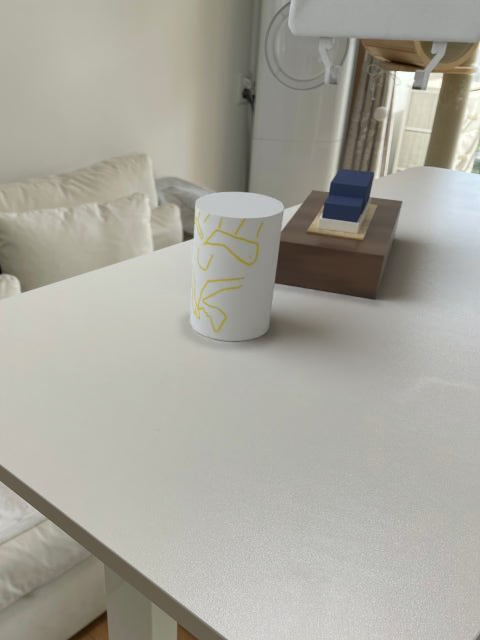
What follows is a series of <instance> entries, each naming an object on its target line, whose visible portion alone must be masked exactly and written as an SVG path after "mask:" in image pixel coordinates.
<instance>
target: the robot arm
mask: <svg viewBox="0 0 480 640" xmlns="http://www.w3.org/2000/svg"><path fill="white" fill-rule="evenodd" d="M287 21H288V22H287V24H288V25H287V26H288V28H289V30H290V32H291V34H292V35H293V36H294V37H310V38H318V39H319V40H318V47H317V49H318V52H319V56H320V58H321V60H322V63H323V66H324V68H325V72H324V80H323V83H324V85H325V86H326V85H327V86H338V85H339V84H340V81H341V75H340V74H341V73H342V67H343V66H342V65H336V64H335V61H334V59H333V56H332V53H331V49H333V48H334V47H335V45H336V38H337V39H363V40H365V39H366V40H387V41H389V40H392V41H414V42H415V41H416V42H417V41H418V42H432V46H431V49H430V50H431V51H430V53H431V54H433V55H434V56H433V57H432V58H431V60H430V61H429V62H428V64H427V65H426V66H425V68H424V69H415V72H414V77H413V82H412V86H411V90H413V91H427V88H428V83H429V79H430V74H431V73H432V72H433V70H435V68H436V67H437V65H438V64H439V62H440V61H441V60H442V59H443V57H445V55H446V52H447V48H448V43H469V44H475V43H476V44H477V43H478V42H479V41H480V0H290V4H289V13H288V20H287Z"/></svg>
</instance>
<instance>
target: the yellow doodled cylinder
mask: <svg viewBox="0 0 480 640" xmlns="http://www.w3.org/2000/svg"><path fill="white" fill-rule="evenodd" d="M284 211H285V205H284V204H283V202H281V201H280V200H279V199H277V198H274V197H273V196H272V197H271V196H268V195H265V194H260V193H256V192H255V193H254V192H247V191H246V192H245V191H222V192H221V191H220V192H212V193H208V194H205V195H202V196H200V197H198V198H197V199H196V200H195V204H194V222H193V223H194V224H193V225H194V226H193V243H192V245H193V246H192V247H193V248H192V265H191V270H192V271H191V285H190V287H191V288H190V293H191V294H190V307H189V308H190V309H189V325H190V326H191V328H192V329H193V330H194V331H195V332H196V333H198V334H200V335H202V336H204V337H206V338H210V339H212V340H218V341H222V342H245V341H251V340H254V339H257V338H259V337H262V336H263V335H265V334H266V333H267V332H268V331H269V329H270V321H271V314H272V307H273V299H274V290H275V284H276V283H275V276H276V268H277V260H278V252H279V244H280V236H281V231H282V228H283V220H284Z"/></svg>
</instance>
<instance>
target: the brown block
mask: <svg viewBox="0 0 480 640" xmlns="http://www.w3.org/2000/svg"><path fill="white" fill-rule="evenodd" d="M328 195H329V191H324V190H323V191H322V190H315V189H312V190H311V192H310V193H309V194H308V195H307V197H306V198H305V199H304V201H303V202H302V203H301V205H300V206H299V207H298V209H297V210H296V211H295V213H294V214H293V215H292V217H291V218H290V219H289V221H288V222H287V223H286V224H285V226H284V227H282V228H283V229H281V236H280V244H279V252H278V260H277V268H276V276H275V283H274V284H280V285H281V284H282V285H287V286H293V287H299V288H306V289H312V290H317V291H323V292H330V293H335V294H342V295H347V296H354V297H359V298H365V299H366V298H367V299H370V300H371V299H372V300H376V297H377V294H378V291H379V287H380V285H381V281H382V278H383V276H384V272H385V269H386V265H387V263H388V260H389V259H388V258H389V256H390V253H391V250H392V246H393V243H394V240H395V237H396V232H397V228H398V224H399V219H400V214H401V210H402V205H403V200H398V199H397V200H396V199H390V198H389V199H388V198H380V197H371V196H370V198H371V202H370V207H369V209H368V212H367V214H366V216H365V218H364V220H363V223H362V225H361V227H360V229H359V231H358V234H356V233H349V232H341V231H334V230H327V229H320V228H318V222H319V218H320V216H321V215H322V213H323V208H324V203H325V201H326V200H327V198H328Z"/></svg>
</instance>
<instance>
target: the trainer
mask: <svg viewBox="0 0 480 640" xmlns="http://www.w3.org/2000/svg"><path fill="white" fill-rule="evenodd" d="M374 178H375V171H366V170H357V169H348V168H347V169H346V168H339V170H338V171H337V173H336V174H335V176H334V177H333V178H332V179H331V181H330V184H329V189H328V190H329V191H328V192H329V195H328V198H327V200H326V201H325V203H324V208H323V213H322V215H321V216H320V218H319V222H318V228H320V229H327V230H334V231H341V232H349V233H356V234H358V231H359V229H360V227H361V225H362V223H363V220H364V218H365V216H366V214H367V212H368V209H369V207H370V202H371V198H370V197H371V193H372V192H371V191H372V187H373V184H374V183H373V182H374Z"/></svg>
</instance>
